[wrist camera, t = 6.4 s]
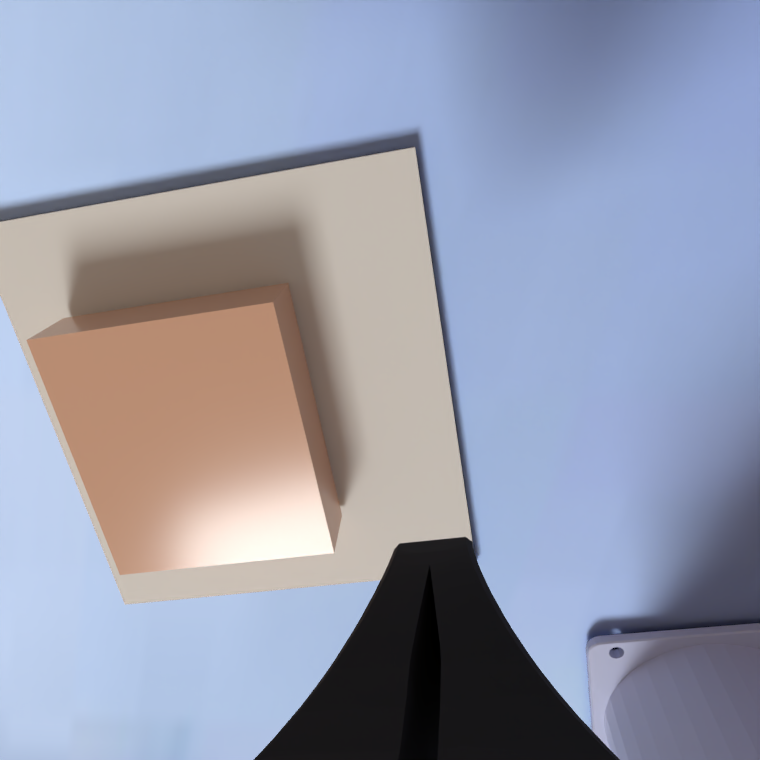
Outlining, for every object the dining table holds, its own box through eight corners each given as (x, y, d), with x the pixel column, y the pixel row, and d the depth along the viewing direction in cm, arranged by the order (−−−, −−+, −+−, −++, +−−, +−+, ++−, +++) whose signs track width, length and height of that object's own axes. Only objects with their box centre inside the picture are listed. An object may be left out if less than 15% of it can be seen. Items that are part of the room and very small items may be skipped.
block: (273, 302, 17) (26, 340, 18) (334, 553, 20) (119, 575, 21) (290, 280, 19) (67, 315, 20) (343, 510, 22) (147, 532, 23)
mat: (415, 146, 18) (415, 147, 17) (475, 563, 23) (476, 570, 23) (-19, 224, 19) (-28, 227, 19) (129, 597, 25) (125, 604, 24)
